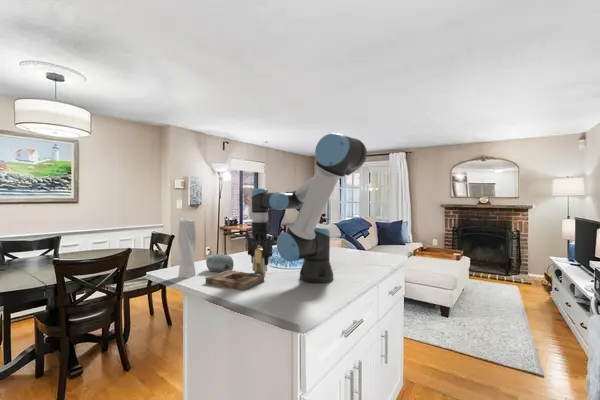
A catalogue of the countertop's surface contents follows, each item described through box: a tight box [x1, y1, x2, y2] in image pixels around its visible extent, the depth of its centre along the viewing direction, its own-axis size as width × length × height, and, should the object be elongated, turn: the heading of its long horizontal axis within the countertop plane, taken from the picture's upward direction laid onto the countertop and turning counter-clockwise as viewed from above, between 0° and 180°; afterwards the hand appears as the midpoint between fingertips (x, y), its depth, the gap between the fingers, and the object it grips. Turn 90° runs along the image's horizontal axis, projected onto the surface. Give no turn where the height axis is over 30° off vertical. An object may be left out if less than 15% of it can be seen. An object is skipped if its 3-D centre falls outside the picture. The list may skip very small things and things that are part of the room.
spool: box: [205, 253, 235, 273], centre depth 142 cm, size 14×10×10 cm
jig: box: [205, 270, 265, 291], centre depth 124 cm, size 20×14×3 cm
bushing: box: [253, 247, 266, 277], centre depth 136 cm, size 5×5×12 cm
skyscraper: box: [177, 215, 197, 279], centre depth 133 cm, size 8×8×28 cm
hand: (259, 270), depth 136 cm, fingers closed on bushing, 5 cm apart
